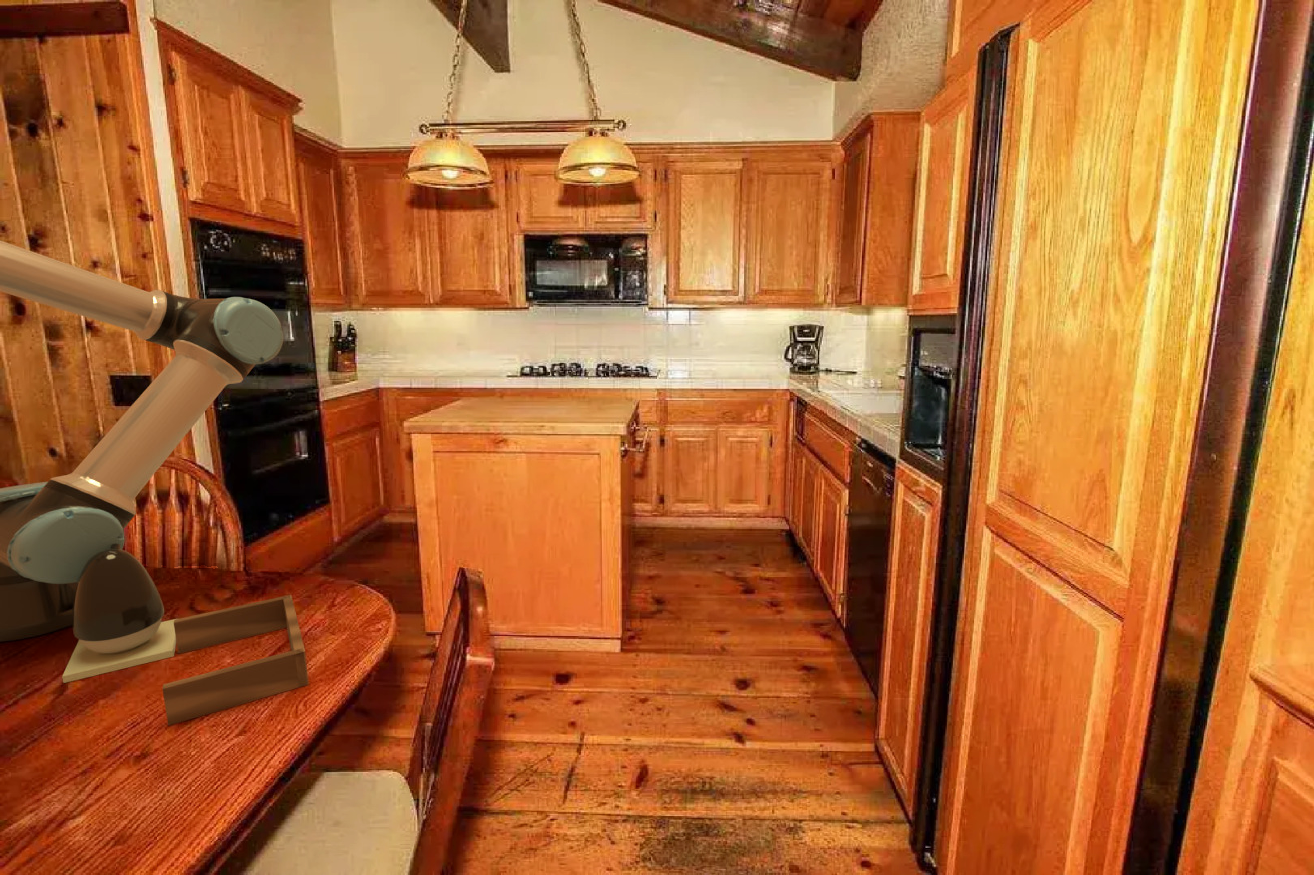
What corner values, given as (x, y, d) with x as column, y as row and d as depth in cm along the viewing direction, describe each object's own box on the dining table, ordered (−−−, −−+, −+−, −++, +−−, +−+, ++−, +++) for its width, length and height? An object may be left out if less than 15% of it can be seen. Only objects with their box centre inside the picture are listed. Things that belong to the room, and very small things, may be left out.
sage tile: (80, 645, 93) (79, 639, 93) (178, 624, 100) (177, 618, 99) (63, 683, 83) (62, 676, 83) (173, 656, 90) (172, 650, 90)
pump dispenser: (171, 619, 98) (157, 531, 95) (163, 650, 90) (146, 556, 86) (88, 635, 93) (69, 543, 89) (70, 671, 84) (48, 571, 81)
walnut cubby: (178, 650, 92) (174, 619, 91) (294, 622, 100) (291, 594, 99) (168, 725, 74) (162, 689, 74) (308, 684, 83) (305, 651, 82)
